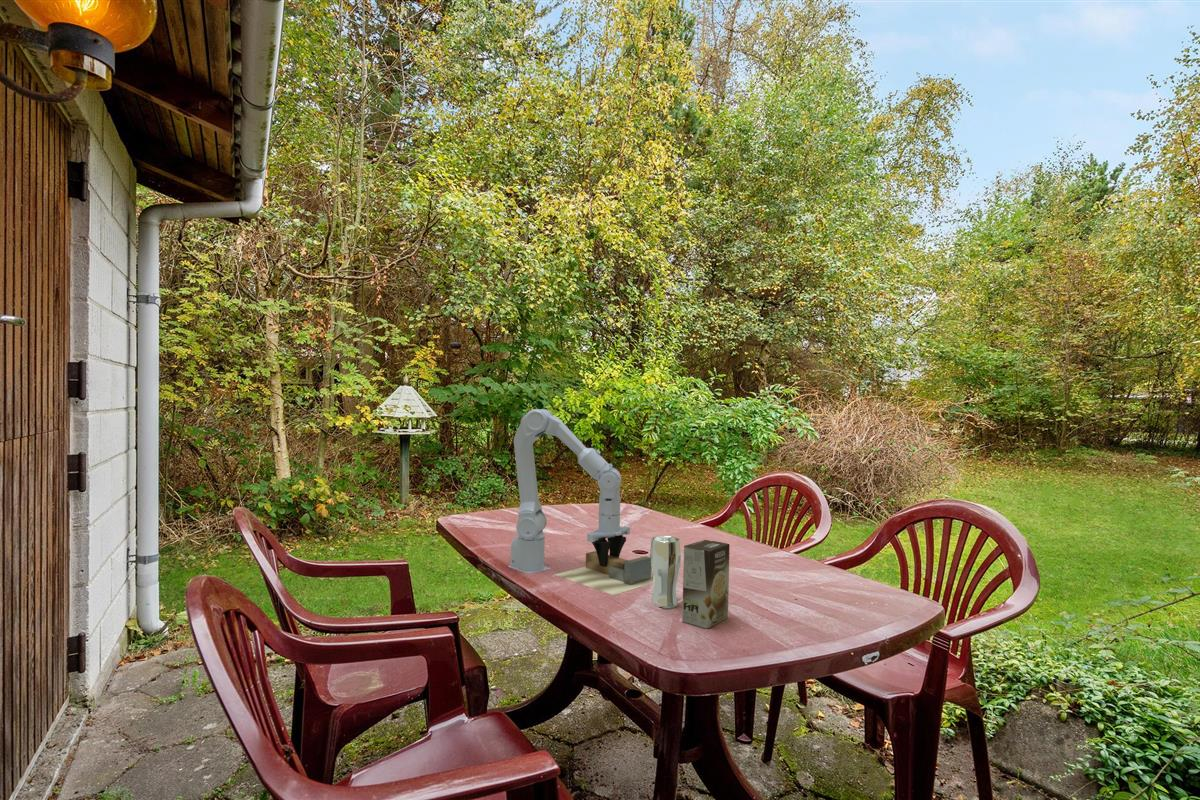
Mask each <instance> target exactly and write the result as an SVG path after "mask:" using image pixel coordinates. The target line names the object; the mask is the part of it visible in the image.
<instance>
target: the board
mask: <svg viewBox="0 0 1200 800" xmlns="http://www.w3.org/2000/svg"><path fill="white" fill-rule="evenodd" d="M553 575H554V576H557V577H558V578H562V579H564V580H568V581H570V582H573V583H577V584H579V585H582V586H585V587H588V588H591V589H595V590H596V591H600V592H604V594H609V595H611V596H616V595H619V594H622V593H625V592H629V591H632V590H635V589H637V588H641V587H644V586H647V585H651V584H653V579H652V576H651V579H649V580H646V581H642V582H639V583H636V584H633V585H628V584H625V583H624V582H622V581H619V580H615V579H612V578H609V575H607V574H604V573H601V572H598V571H594V570H591V569H588V568H586V566H583V567H579V568H575V569H571V570H567V571H562V572H559V573H554V574H553Z"/></svg>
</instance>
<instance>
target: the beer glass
mask: <svg viewBox="0 0 1200 800" xmlns="http://www.w3.org/2000/svg"><path fill="white" fill-rule="evenodd" d="M650 540H651V541H650V555H649V557H650V564H651V577H652V579H653V583H652V585H653V587H652V588H653V589H652V597H651V603H652V604H654V605H655V606H659V607H658V608H659V609H665V610H667V609H668V610H669V609H675V608H677V607H679V606H678V605H679V601H678V595H677V587H678V586H677V585H678V580H679V575H680V569H681V559H682V557H681V556H682V554H681V540H680V538H679V537H677V536H672V535H655V536H653V537H651V539H650Z"/></svg>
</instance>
